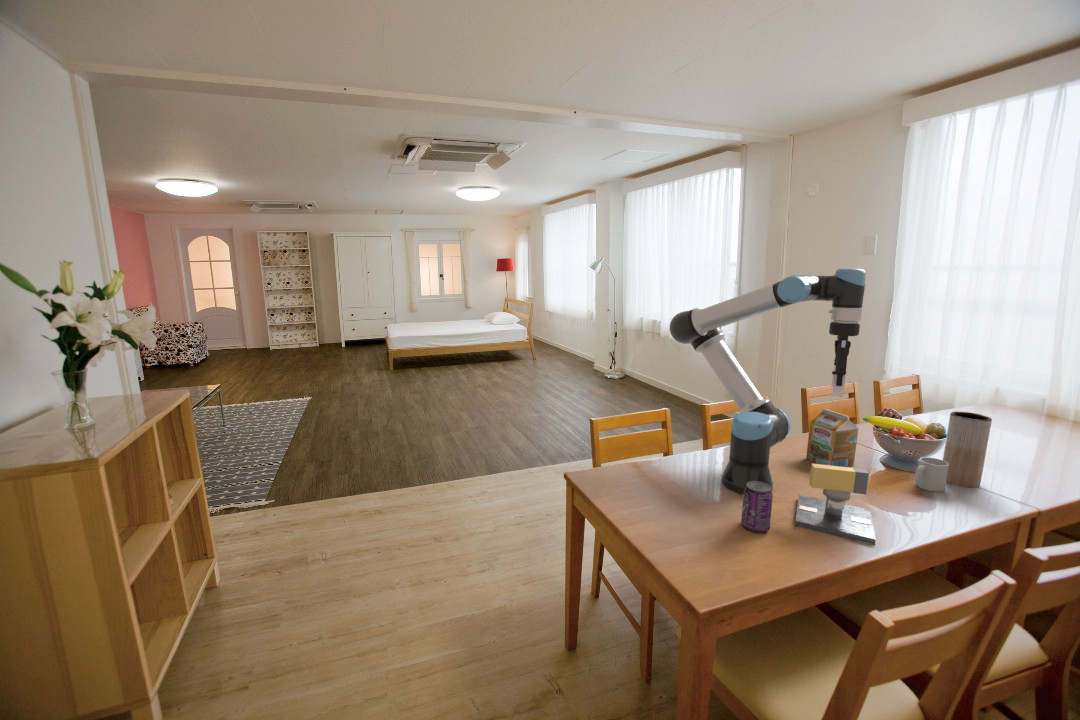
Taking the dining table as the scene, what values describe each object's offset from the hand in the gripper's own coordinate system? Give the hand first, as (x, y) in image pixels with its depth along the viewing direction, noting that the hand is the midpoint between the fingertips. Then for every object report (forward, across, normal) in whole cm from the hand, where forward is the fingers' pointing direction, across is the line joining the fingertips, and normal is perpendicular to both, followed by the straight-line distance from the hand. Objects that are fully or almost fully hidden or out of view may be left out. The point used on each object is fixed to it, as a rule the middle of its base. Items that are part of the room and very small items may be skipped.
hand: (836, 391), depth 143 cm
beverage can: (+33, +34, -16) cm, 50 cm away
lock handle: (+25, +19, +2) cm, 32 cm away
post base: (+33, +19, +2) cm, 38 cm away
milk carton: (+33, -28, +1) cm, 44 cm away
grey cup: (+33, -20, +28) cm, 48 cm away
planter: (+33, -32, +38) cm, 60 cm away
